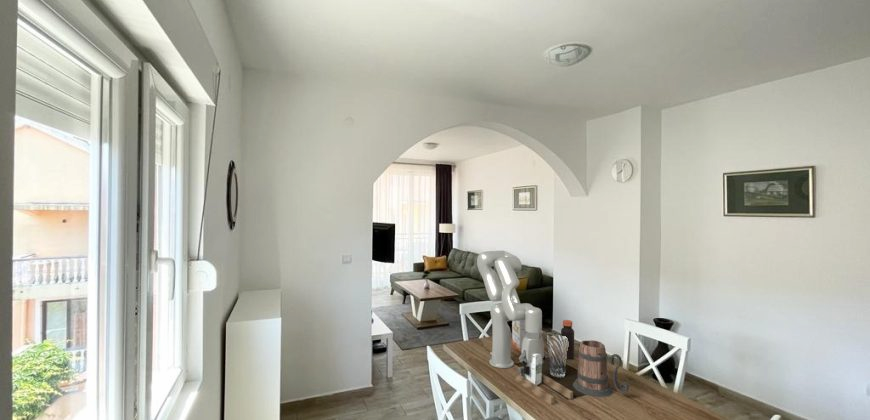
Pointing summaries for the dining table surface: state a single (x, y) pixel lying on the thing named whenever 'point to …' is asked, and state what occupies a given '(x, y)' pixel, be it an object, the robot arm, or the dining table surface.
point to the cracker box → (518, 333)
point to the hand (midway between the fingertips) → (533, 372)
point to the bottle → (569, 334)
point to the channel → (540, 392)
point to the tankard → (596, 370)
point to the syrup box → (535, 370)
